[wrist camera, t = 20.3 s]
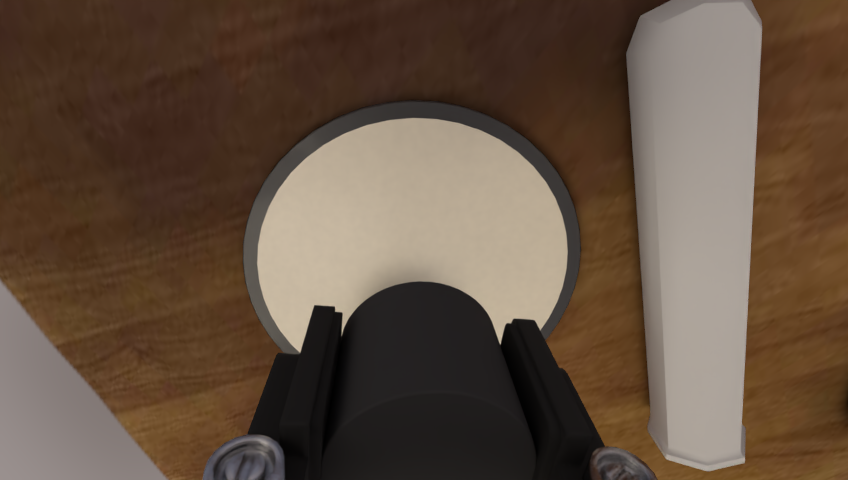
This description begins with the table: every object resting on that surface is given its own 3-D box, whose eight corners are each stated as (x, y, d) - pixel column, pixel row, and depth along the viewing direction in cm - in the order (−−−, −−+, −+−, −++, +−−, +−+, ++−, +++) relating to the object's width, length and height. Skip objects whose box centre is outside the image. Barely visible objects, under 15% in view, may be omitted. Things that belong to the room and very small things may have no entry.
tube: (626, 12, 16) (656, 469, 26) (807, -37, 14) (763, 475, 24) (609, 8, 20) (640, 399, 31) (745, -29, 19) (730, 399, 29)
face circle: (252, 388, 27) (249, 396, 26) (237, 77, 20) (232, 78, 19) (535, 400, 29) (538, 407, 28) (618, 122, 22) (624, 124, 21)
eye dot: (337, 403, 13) (316, 542, 9) (344, 274, 11) (321, 385, 8) (480, 409, 14) (512, 544, 10) (509, 286, 12) (561, 397, 8)
